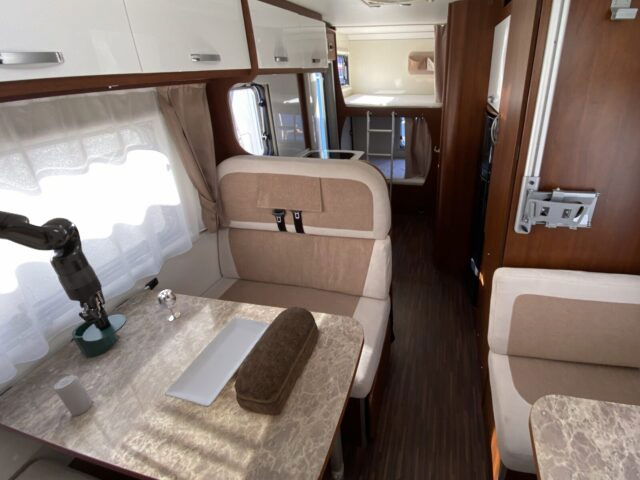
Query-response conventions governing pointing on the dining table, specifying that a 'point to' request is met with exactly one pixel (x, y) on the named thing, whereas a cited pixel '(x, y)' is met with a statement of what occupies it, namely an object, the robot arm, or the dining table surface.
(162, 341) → the dining table surface
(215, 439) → the dining table surface
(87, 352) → the pot
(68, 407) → the beverage can
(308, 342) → the bread
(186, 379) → the tray
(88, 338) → the lid
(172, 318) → the wineglass
